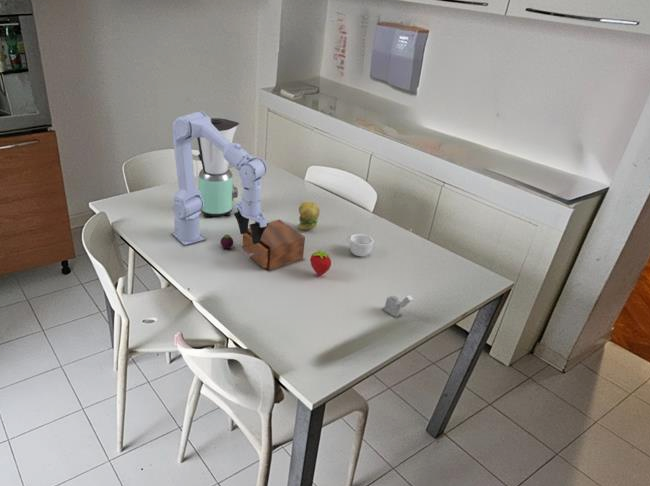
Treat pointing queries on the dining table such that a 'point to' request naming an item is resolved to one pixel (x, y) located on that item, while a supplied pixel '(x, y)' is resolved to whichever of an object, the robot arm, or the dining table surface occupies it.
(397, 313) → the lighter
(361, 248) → the teacup
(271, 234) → the cabinet
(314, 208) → the hamburger
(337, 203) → the dining table surface
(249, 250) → the drawer
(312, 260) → the strawberry
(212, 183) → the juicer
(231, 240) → the mangosteen
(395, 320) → the dining table surface
